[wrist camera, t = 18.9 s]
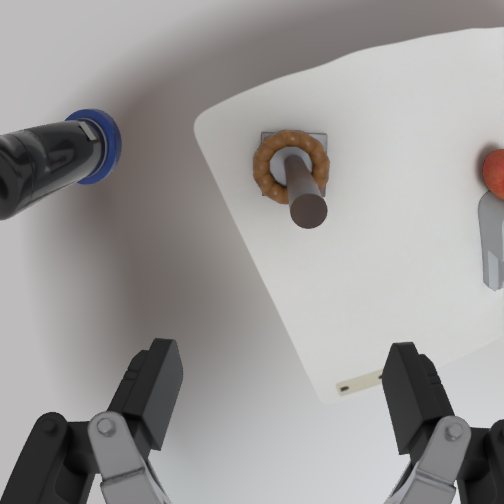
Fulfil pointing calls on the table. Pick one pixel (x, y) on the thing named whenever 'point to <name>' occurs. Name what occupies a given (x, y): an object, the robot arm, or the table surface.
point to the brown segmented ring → (279, 142)
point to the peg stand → (299, 182)
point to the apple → (495, 172)
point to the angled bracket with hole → (492, 239)
